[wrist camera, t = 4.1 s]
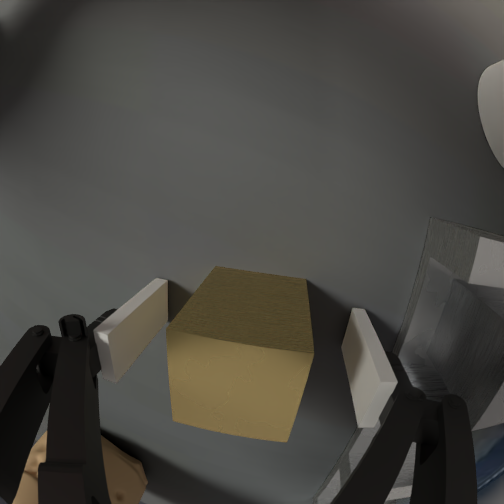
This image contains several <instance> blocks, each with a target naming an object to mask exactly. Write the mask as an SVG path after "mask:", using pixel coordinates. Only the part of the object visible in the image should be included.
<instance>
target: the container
mask: <svg viewBox="0 0 504 504" xmlns="http://www.w3.org/2000/svg"><path fill="white" fill-rule="evenodd" d="M46 443H47V431H46V432H45V433H44V434H43V436H42V437H41V438H40V439H39V440H38V442H37V443H36V444H35V445H34V446H33V448H32V449H31V451H30V454H29V457H28V460H27V463H26V466H25V469H24V472H23V475H22V479H21V482H20V485H19V488H18V491H17V494H16V497H15V499H14V501H13V503H12V504H38V465H39V464H40V462H45V460H46ZM101 443H102V452H103V460H104V468H105V474H106V480H107V486H108V492H109V497H110V500H111V503H112V504H139V502H140V499H141V497H142V495H143V493H144V491H145V489H146V485H147V484H148V481H147V479H146V475H145V472H144V469H143V466H142V463H141V461H139V460H137V459H135V458H134V457H131V456H129V455H128V454H126V453H124V452H123V451H121V450H120V449H119V448H118V447H116V446H115V445H114V444H112V443H111V442H110V441H108V440H107V439H106V438H104V437H103V436H102V435H101Z"/></svg>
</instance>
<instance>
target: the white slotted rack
mask: <svg viewBox="0 0 504 504" xmlns="http://www.w3.org/2000/svg"><path fill="white" fill-rule="evenodd" d="M392 352H393V353H394V354H395V355H396V356H397V357H398V358H399V359H400V361H401V363H402V366H403V367H404V369H405V371H406V373H407V375H408V377H409V379H410V382H411V384H412V386H413V387H417V388H419V389H421V390H422V391H423V392H424V393H425V395H426V399H428V400H433V401H438V402H441V400H442V399H443V397H444V396H445V395H448V394H454V395H458V396H459V397H461V398H462V399H463V400H464V401H465V402H466V405H467V409H468V414H469V420H470V426H471V431H475V430H479V429H483V428H487V427H491V426H494V425H498V424H501V423H504V236H502V235H498V234H495V233H491V232H488V231H484V230H480V229H477V228H473V227H469V226H465V225H461V224H457V223H453V222H449V221H445V220H440V219H436V218H432V217H430V221H429V227H428V232H427V236H426V241H425V246H424V250H423V254H422V259H421V263H420V267H419V271H418V274H417V278H416V282H415V285H414V289H413V292H412V296H411V299H410V302H409V305H408V309H407V312H406V315H405V318H404V321H403V324H402V326H401V329H400V332H399V335H398V338H397V340H396V343H395V346H394V348H393V351H392ZM380 426H381V425H380V421H379V419H378V421H377V423H376V425H375V426H374V427H373V428H358V427H357V429H356V430H355V432H354V434H353V436H352V438H351V439H350V441H349V443H348V445H347V446H346V448H345V450H344V451H343V453H342V455H341V456H340V458H339V460H338V461H337V463H336V464H335V466H334V468H333V469H332V471H331V472H330V474H329V475H328V477H327V478H326V480H325V481H324V483H323V484H322V486H321V487H320V489H319V490H318V491H317V493H316V494H315V496H314V497H313V504H330V503H331V502H332V500H333V499H334V498H335V496H336V495H337V494H338V492H339V491H340V489H341V488H342V487H343V485H344V484H345V482H346V481H347V480H348V478H349V477H350V475H351V474H352V472H353V471H354V469H355V468H356V466H357V464H358V463H359V461H360V460H361V458H362V457H363V455H364V453H365V452H366V450H367V448H368V447H369V445H370V443H371V441H372V439H373V437H374V436H375V434H376V433H377V431H378V429H379V428H380ZM415 452H416V443H415V442H412V444H411V447H410V449H409V452H408V454H407V457H406V459H405V461H404V464H403V466H402V468H401V470H400V473H399V475H398V477H397V479H396V481H395V483H394V485H393V487H392V489H391V491H390V493H389V495H388V497H387V499H386V501H385V503H384V504H396V499H399V498H405V497H411V491H412V483H413V475H414V465H415Z"/></svg>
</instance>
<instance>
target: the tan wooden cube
mask: <svg viewBox="0 0 504 504" xmlns="http://www.w3.org/2000/svg"><path fill="white" fill-rule="evenodd" d="M166 338H167V357H168V372H169V385H170V396H171V407H172V416H173V421H175V422H179V423H183V424H186V425H190V426H194V427H199V428H203V429H207V430H212V431H216V432H221V433H226V434H231V435H237V436H243V437H249V438H255V439H262V440H270V441H278V442H287V441H288V438H289V435H290V432H291V429H292V426H293V423H294V420H295V417H296V414H297V411H298V408H299V405H300V401H301V398H302V395H303V392H304V388H305V385H306V382H307V378H308V375H309V371H310V368H311V364H312V360H313V357H314V346H313V336H312V326H311V317H310V308H309V299H308V291H307V283H306V279H301V278H294V277H287V276H279V275H272V274H265V273H259V272H252V271H245V270H238V269H231V268H225V267H218V266H215V268H214V269H213V270H212V271H211V273H210V274H209V275H208V276H207V278H206V279H205V280H204V281H203V283H202V284H201V285H200V286H199V288H198V289H197V290H196V291H195V293H194V294H193V295H192V296H191V298H190V299H189V300H188V301H187V303H186V304H185V305H184V307H183V308H182V309H181V310H180V312H179V313H178V314H177V315H176V317H175V318H174V319H173V320H172V322H171V323H170V324H169V326H168V327H167V328H166Z"/></svg>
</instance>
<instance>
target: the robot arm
mask: <svg viewBox="0 0 504 504" xmlns="http://www.w3.org/2000/svg"><path fill="white" fill-rule="evenodd" d="M167 321H168V280H164V279H159V278H156V279H155V280H153V281H152V282H151V283H150V284H148V285H147V286H146V287H145V288H143V289H142V290H141V291H140V292H138V293H137V294H136V295H135V296H134V297H132V298H131V299H130V300H129V301H127V302H126V303H125V304H124V305H123V306H121V307H120V308H119V309H111V310H109V311H106V312H105V313H104V314H102V315H101V316H100V317H99V318H97V319H96V321H94V322H92V323H91V324H90V325H89V326H88V327H86V321H85V318H84V317H83V316H81V315H76V314H71V315H66V316H64V317H62V318H61V319H60V320H59V326H60V331H61V335H62V337H56V336H51V333H50V329H49V328H48V327H47V326H44V325H36V326H34V327H31V328H30V329H29V330H27V332H26V333H25V334H24V335H23V337H22V338H21V339H20V341H19V342H18V343H17V344H16V346H15V347H14V348H13V350H12V351H11V352H10V354H9V355H8V356H7V358H6V359H5V360H4V362H3V363H2V365H1V366H0V504H12V503H13V501H14V499H15V497H16V494H17V491H18V488H19V485H20V482H21V479H22V475H23V472H24V469H25V466H26V463H27V460H28V457H29V454H30V451H31V448H32V445H33V443H34V440H35V437H36V435H37V432H38V430H39V427H40V425H41V422H42V420H43V417H44V415H45V413H46V410H47V408H48V406H49V403H50V408H49V417H48V428H47V443H46V460H45V462H40V464H39V465H38V504H112V503H111V500H110V497H109V492H108V486H107V480H106V474H105V468H104V460H103V452H102V443H101V432H100V419H99V399H98V378H97V373H98V372H99V371H100V370H101V371H102V375H103V379H106V380H108V381H111V382H113V383H116V384H117V383H118V381H119V380H120V379H121V378H122V376H123V375H124V374H125V373H126V371H127V370H128V369H129V368H130V366H131V365H132V364H133V363H134V361H135V360H136V359H137V358H138V356H139V355H140V354H141V353H142V351H143V350H144V349H145V348H146V347H147V345H148V344H149V343H150V342H151V340H152V339H153V338H154V337H155V336H156V334H157V333H158V332H159V331H160V329H161V328H162V327H163V326H164V325H165V323H166V322H167ZM341 349H342V354H343V358H344V362H345V367H346V371H347V376H348V380H349V385H350V389H351V394H352V399H353V404H354V409H355V414H356V419H357V425H358V428H373V427H374V426H375V425H376V423H377V421H378V419H379V421H380V425H381V426H380V428H379V429H378V431H377V433H376V434H375V436H374V437H373V439H372V441H371V443H370V445H369V447H368V448H367V450H366V452H365V453H364V455H363V457H362V458H361V460H360V461H359V463H358V464H357V466H356V468H355V469H354V471H353V472H352V474H351V475H350V477H349V478H348V480H347V481H346V482H345V484H344V485H343V487H342V488H341V489H340V491H339V492H338V494H337V495H336V496H335V498H334V499H333V500H332V502H331V503H330V504H384V503H385V501H386V499H387V497H388V495H389V493H390V491H391V489H392V487H393V485H394V483H395V481H396V479H397V477H398V475H399V473H400V470H401V468H402V466H403V464H404V461H405V459H406V457H407V454H408V452H409V449H410V447H411V444H412V442H415V443H416V452H415V465H414V475H413V483H412V491H411V498H410V504H477V480H476V466H475V455H474V447H473V439H472V432H471V426H470V420H469V414H468V409H467V405H466V402H465V401H464V400H463V399H462V398H461V397H459V396H458V395H454V394H448V395H445V396H444V397H443V399H442V400H441V402H438V401H433V400H428V399H426V395H425V393H424V392H423V391H422V390H421V389H419V388H417V387H413V386H412V384H411V382H410V379H409V377H408V375H407V373H406V371H405V369H404V367H403V366H402V363H401V361H400V359H399V358H398V357H397V356H396V355H395V354H394V353H393V352H384V349H383V347H382V345H381V343H380V341H379V338H378V336H377V334H376V332H375V330H374V328H373V326H372V324H371V321H370V319H369V317H368V315H367V313H366V311H365V309H359V308H352V311H351V315H350V318H349V322H348V325H347V329H346V333H345V336H344V339H343V343H342V346H341ZM36 368H37V369H36Z"/></svg>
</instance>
